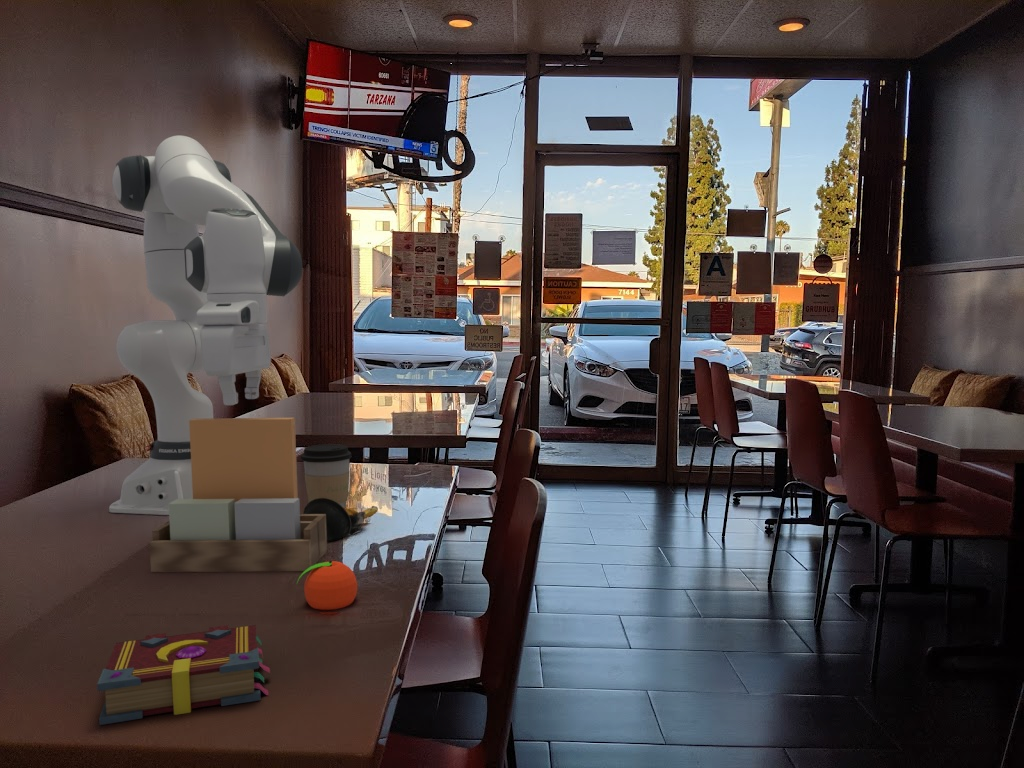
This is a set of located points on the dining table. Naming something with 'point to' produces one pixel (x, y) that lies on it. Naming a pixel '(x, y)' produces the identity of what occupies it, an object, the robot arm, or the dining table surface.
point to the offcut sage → (202, 519)
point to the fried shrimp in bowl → (338, 517)
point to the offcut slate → (267, 519)
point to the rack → (240, 551)
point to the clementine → (330, 586)
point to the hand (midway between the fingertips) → (241, 401)
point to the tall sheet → (243, 458)
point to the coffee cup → (327, 472)
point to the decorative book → (181, 673)
